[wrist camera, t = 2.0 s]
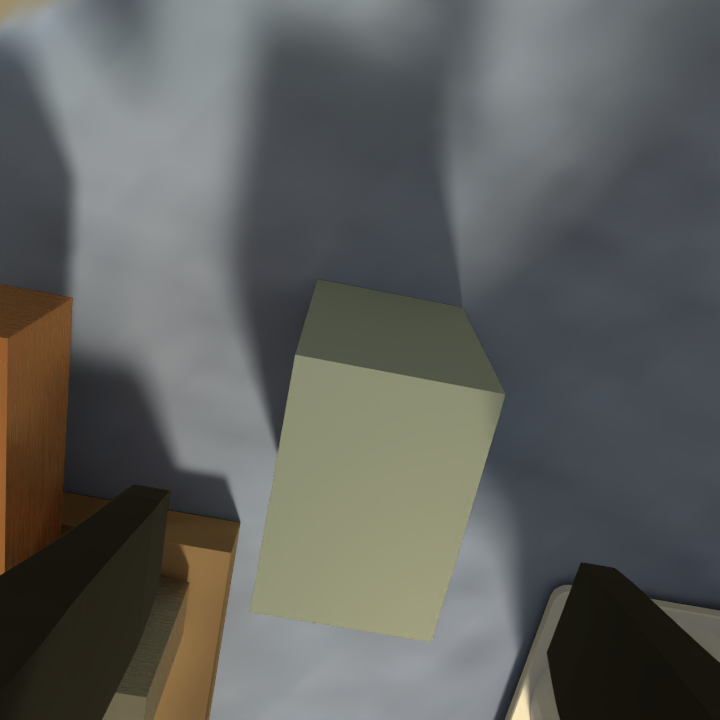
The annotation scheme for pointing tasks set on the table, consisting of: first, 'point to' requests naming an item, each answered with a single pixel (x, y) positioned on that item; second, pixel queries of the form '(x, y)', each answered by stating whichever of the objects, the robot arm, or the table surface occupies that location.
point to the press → (204, 605)
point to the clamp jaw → (61, 477)
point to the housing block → (376, 462)
